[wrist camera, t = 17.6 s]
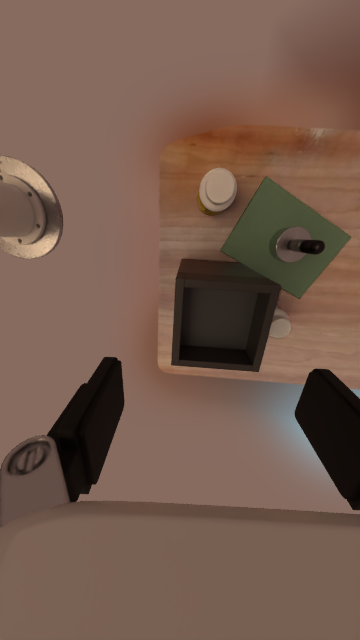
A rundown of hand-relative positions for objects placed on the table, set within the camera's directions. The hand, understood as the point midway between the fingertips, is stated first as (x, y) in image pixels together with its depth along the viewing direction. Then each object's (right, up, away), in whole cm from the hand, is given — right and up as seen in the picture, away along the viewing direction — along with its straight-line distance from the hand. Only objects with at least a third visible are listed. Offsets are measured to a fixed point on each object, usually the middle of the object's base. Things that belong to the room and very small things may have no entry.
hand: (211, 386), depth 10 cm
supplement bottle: (+4, +26, +27) cm, 37 cm away
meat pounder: (+19, +18, +29) cm, 39 cm away
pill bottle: (+17, +6, +35) cm, 39 cm away
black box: (+4, +10, +33) cm, 35 cm away
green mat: (+19, +18, +29) cm, 39 cm away
